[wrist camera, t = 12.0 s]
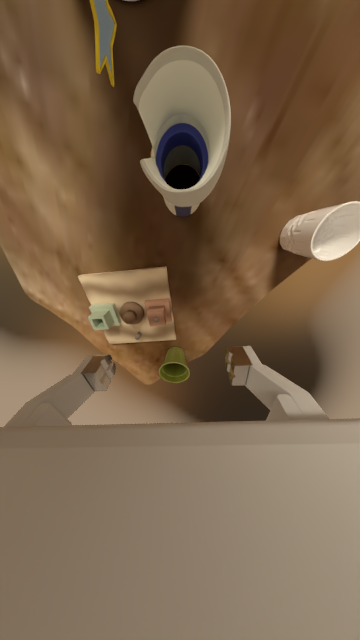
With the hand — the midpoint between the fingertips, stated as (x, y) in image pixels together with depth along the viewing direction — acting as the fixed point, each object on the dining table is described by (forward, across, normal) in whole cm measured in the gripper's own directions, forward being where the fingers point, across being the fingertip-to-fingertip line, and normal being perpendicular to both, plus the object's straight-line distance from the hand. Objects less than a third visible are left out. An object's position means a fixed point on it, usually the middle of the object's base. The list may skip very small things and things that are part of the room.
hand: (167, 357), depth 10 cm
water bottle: (+29, -2, -14) cm, 33 cm away
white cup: (+29, -26, -5) cm, 40 cm away
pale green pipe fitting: (+28, +21, +10) cm, 36 cm away
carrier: (+29, +14, +10) cm, 34 cm away
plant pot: (+29, +4, +28) cm, 41 cm away
